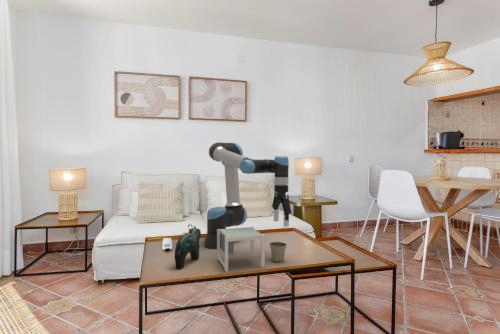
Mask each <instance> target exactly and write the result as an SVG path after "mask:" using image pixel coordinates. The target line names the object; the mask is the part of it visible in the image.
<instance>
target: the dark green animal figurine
mask: <svg viewBox="0 0 500 334" xmlns="http://www.w3.org/2000/svg"><path fill="white" fill-rule="evenodd" d="M190 227H191V228H190ZM187 228H188V232H183V233H181V234H180V235H179V238H178V240H177V241H176V245H175V248H174V261H175V269H176V270H183V269H184V268H185V261H186V257H187V256H188V254H189V255H190V260H191V261H198V259H199V260H200V238H201V234H202V233H201V229H200V228H197V227H196V225H192V224H191V223H190V224H188V225H187Z"/></svg>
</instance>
